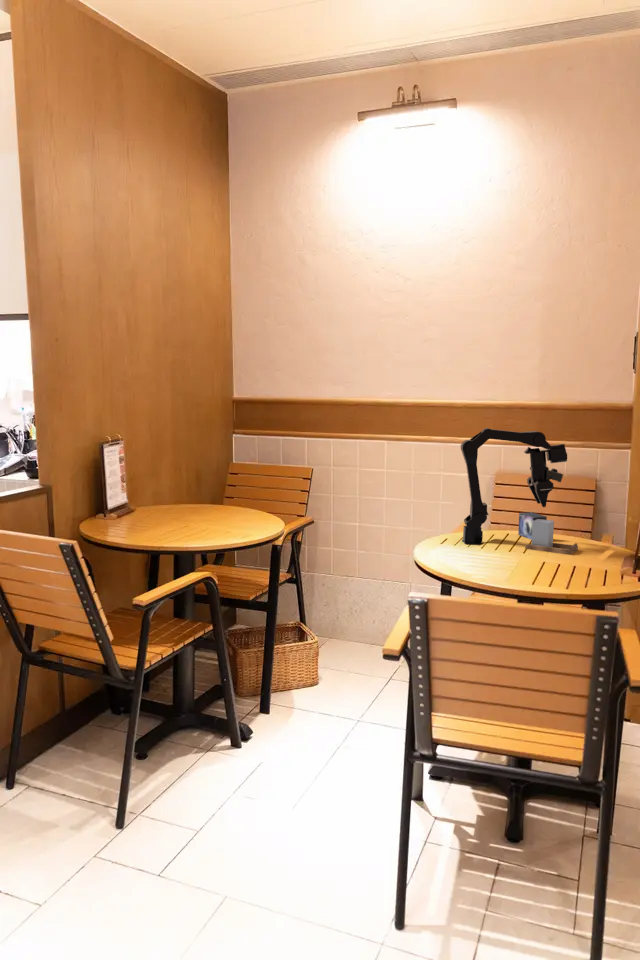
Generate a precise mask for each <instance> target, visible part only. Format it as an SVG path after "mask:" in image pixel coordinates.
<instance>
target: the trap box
mask: <svg viewBox="0 0 640 960" xmlns="http://www.w3.org/2000/svg"><path fill="white" fill-rule="evenodd" d="M524 548H525V550H532V551H538V552H539V551H540V552H545V553H546V552H547V553H554V554H561V555H568V556H569V555H570V556H571V555H572V554H574V553H575V552H577V551H578V550H579V545H578V543H576V542H575V543H574V544H566V543H559V542H553V547H545V546H537V545H531V544H529V543H528V544H525V547H524Z"/></svg>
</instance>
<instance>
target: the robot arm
mask: <svg viewBox="0 0 640 960" xmlns="http://www.w3.org/2000/svg"><path fill="white" fill-rule="evenodd" d="M488 440H497V441H507V442H516V443H522V444H525V445H529V446H527V448H526V449H525V450H524V451H523V453H524V454H526V455H527V454H529V459H530V463H529V464H530V467H529V470H530V473H531V476H529V477H527V479H526V483H527V485H528V489H529V490H530V491H531V493H532V496H533V498H534V499H535V501H536V503H537V504H540V505H541V507H542V508H546V506H547V501H548V496H549V493H550V492H552V491H553V489H555V487H554V483H553V482H552V481H551V480H553V481H556V482H558V483H562V480H563V477H564V473H561V472H558V469H556V468H553V467H552V468H551V469H550V468H549V467H548V466H547V461H548V462H550V464H557V463H566V462H568V452H567V449H566V444H564V443H559V444H554V445H553V444H552V445H551V444H550V443H549V442H548V440H547V437H546V435H545V433H543V432H541V431H538V430H528V431H512V430H511V431H510V430H502V429H491V428H488V427H485V428H483V429H482V430H481V431H479V432H478V433H476V434H475V435H473V436H472V437H471V438H470V439H465V440H464V441H462V442H461V444H460V451H461V454H462V456H463V459H464V463H465V465H466V473H467V479H468V481H467V482H468V487H469V495H470V496H469V497H470V505H469V514H468V515H467V516H466V517H465V518H464V519H463V521H464V522H463V523H464V525H463V528H462V529H463V534H462V539H461V542H463V544H465V545H482V544H483V538H484V537H483V536H484V535H483V531H482V525H483V524H485V522H486V521H487V520H488V516H489V512H488V504H487V503H486V502H483V500H482V494H481V488H480V487H481V486H480V480H479V479H480V478H479V472H478V465H477V463H478V455H479V454H478V451H479V448H480V447H482V446H483V445H484V444H485V443H486V442H488ZM530 446H531V447H534V448H531V447H530ZM540 448H543V449H540ZM549 469H550V470H549Z"/></svg>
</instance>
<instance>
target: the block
mask: <svg viewBox="0 0 640 960" xmlns="http://www.w3.org/2000/svg"><path fill="white" fill-rule="evenodd" d="M554 529H555V520H549V519H547V520H542V519H537V520H534V521H533V526H532V539H531V544H530V545H537V546H545V547H553V543H554V532H555V531H554Z"/></svg>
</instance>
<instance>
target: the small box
mask: <svg viewBox="0 0 640 960" xmlns="http://www.w3.org/2000/svg"><path fill="white" fill-rule="evenodd" d="M547 518H548V516H546V515H542V514H539V513H536V512H534V511H533V512H532V511H531V512H529V511H528V512H519V513H518V535H519V536H520V537H523V538H526V539H528V540H532V526H533V521H534V520H537V519H542V520H548V519H547Z"/></svg>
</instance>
